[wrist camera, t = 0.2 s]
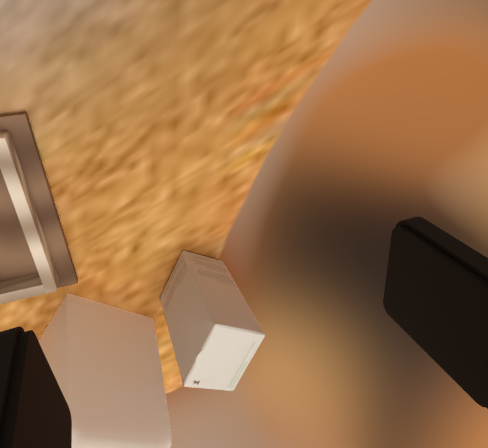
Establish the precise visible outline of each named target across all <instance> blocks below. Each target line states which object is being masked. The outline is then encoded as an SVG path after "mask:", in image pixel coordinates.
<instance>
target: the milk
mask: <svg viewBox="0 0 488 448" xmlns="http://www.w3.org/2000/svg"><path fill="white" fill-rule="evenodd" d="M39 344H40V346H41V348H42V350H43V352H44V354H45V357H46V359H47V361H48V363H49V365H50V367H51V370H52V372H53V374H54V376H55V378H56V380H57V383H58V385H59V387H60V389H61V391H62V393H63V395H64V398H65V400H66V402H67V404H68V406H69V409H70V413H71V419H72V447H71V448H171V427H170V421H169V414H168V408H167V402H166V395H165V388H164V382H163V375H162V369H161V362H160V356H159V349H158V343H157V336H156V330H155V323H154V318H150V317H147V316H144V315H140V314H137V313H133V312H130V311H127V310H123V309H120V308H116V307H113V306H110V305H106V304H103V303H99V302H96V301H93V300H89V299H86V298H83V297H79V296H76V295H72V294H69V293H67V294H66V296H65V298H64V299H63V301H62V303H61V304H60V306H59V308H58V309H57V311H56V313H55V314H54V316H53V318H52V319H51V321H50V323H49V324H48V326H47V328H46V330H45V331H44V333H43V335H42V336H41V338H40V340H39Z"/></svg>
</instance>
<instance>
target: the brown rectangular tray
mask: <svg viewBox="0 0 488 448" xmlns="http://www.w3.org/2000/svg"><path fill="white" fill-rule="evenodd" d="M76 283H78V278H77V275H76V272H75V268H74V265H73V262H72V259H71V255H70V252H69V249H68V246H67V242H66V239H65V236H64V233H63V229H62V226H61V223H60V220H59V216H58V213H57V210H56V207H55V203H54V200H53V197H52V194H51V190H50V187H49V184H48V181H47V177H46V174H45V171H44V168H43V164H42V161H41V158H40V155H39V151H38V148H37V145H36V142H35V138H34V135H33V132H32V129H31V125H30V122H29V119H28V116H27V113H26V112H21V113H13V114H4V115H0V304H3V303H7V302H12V301H16V300H20V299H25V298H29V297H33V296H37V295H42V294H46V293H50V292H55V291H58V288H59V287H63V286H68V285H72V284H76Z"/></svg>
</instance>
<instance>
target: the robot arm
mask: <svg viewBox="0 0 488 448" xmlns="http://www.w3.org/2000/svg"><path fill="white" fill-rule="evenodd" d="M383 304H384V308H385V310H386V312H387V313H388V315H389V316H391V318H392V319H393V320H394V321H395V322H396V323H397V324H398V325H399V326H400V327H402V329H403V330H404V331H405V332H407V334H408V335H409V336H410V337H411V338H412V339H413V340H415V342H416V343H417V344H418V345H419V346H420V347H422V349H423V350H425V352H427V354H428V355H429V356H430V357H431V358H432V359H434V361H436V363H438V365H440V367H441V368H443V370H444V371H445V372H446V373H447V374H448V375H450V377H452V379H453V380H455V382H456V383H458V385H459V386H461V387H462V389H463V390H464V391H465V392H466V393H468V395H470V397H472V398H473V399H474V400H475V402H477V403H478V404H479V405H481V406H482V407H487V408H488V258H487V257H485V256H483V255H482V254H480V253H478V252H477V251H475V250H474V249H472V248H470V247H469V246H467V245H466V244H464V243H462V242H461V241H459V240H457V239H456V238H454V237H453V236H451V235H449V234H448V233H446V232H445V231H443V230H441V229H440V228H438V227H436V226H435V225H433V224H432V223H430V222H428V221H427V220H425V219H423V218H421V217H413V218H410V219H406V220H403V221H400V222H398V223H397V225H396V227H395V229H393V231H392V236H391V245H390V252H389V260H388V268H387V276H386V284H385V293H384V300H383ZM71 447H72V419H71V413H70V409H69V406H68V404H67V402H66V400H65V398H64V395H63V393H62V391H61V389H60V387H59V385H58V383H57V380H56V378H55V376H54V374H53V372H52V370H51V367H50V365H49V363H48V361H47V359H46V357H45V354H44V352H43V350H42V348H41V346H40V344H39V341H38V339H37V337H36V335H35V333H34V332H33V331H32V330H30V331H27V332H25V331H24V330H23V328H22V327H16V328H13V329H9V330H5V331H2V332H0V448H71Z"/></svg>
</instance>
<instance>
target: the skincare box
mask: <svg viewBox="0 0 488 448" xmlns="http://www.w3.org/2000/svg"><path fill="white" fill-rule="evenodd" d="M160 301H161V305H162V308H163V311H164V315H165V319H166V322H167V326H168V329H169V333H170V337H171V340H172V344H173V348H174V351H175V355H176V359H177V362H178V366H179V370H180V373H181V377H182V381H183V386H184V387H194V388H207V389H218V390H229V391H233V390H234V389H235V387H236V385H237V383H238V382H239V380H240V378H241V376H242V375H243V373H244V371H245V369H246V368H247V366H248V364H249V362H250V361H251V359H252V357H253V355H254V354H255V352H256V350H257V349H258V347H259V345H260V343H261V341H262V340H263V338H264V337H265V334H264V333H263V331H262V329H261V327H260V325H259V324H258V322H257V320H256V318H255V317H254V315H253V313H252V312H251V310H250V308H249V306H248V305H247V303H246V301H245V299H244V297H243V296H242V294H241V292H240V290H239V289H238V287H237V285H236V283H235V282H234V280H233V278H232V276H231V275H230V273H229V271H228V269H227V268H226V266H225V264H224V262H223V261H221V260H217V259H214V258H210V257H206V256H203V255H199V254H195V253H192V252H188V251H185V250H183V251H182V253H181V255H180V257H179V259H178V261H177V263H176V265H175V267H174V269H173V271H172V273H171V275H170V278H169V280H168V282H167V284H166V286H165V288H164V290H163V292H162V295H161V297H160Z"/></svg>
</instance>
